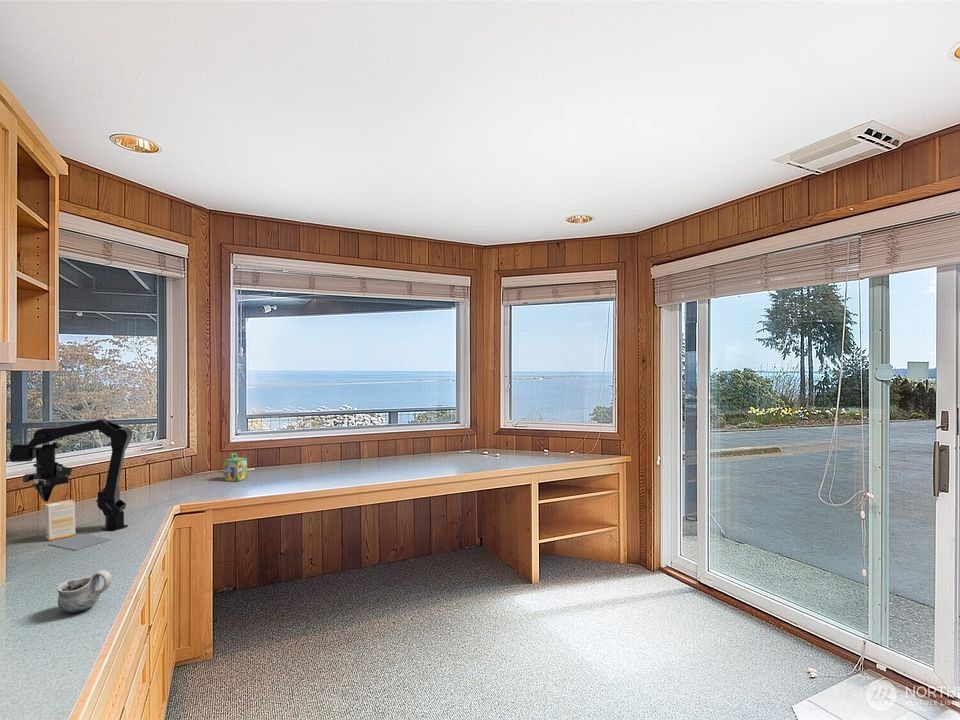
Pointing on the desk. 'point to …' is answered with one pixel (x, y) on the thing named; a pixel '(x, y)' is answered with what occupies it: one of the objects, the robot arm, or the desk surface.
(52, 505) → the supplement box
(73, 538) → the mat
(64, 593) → the mug
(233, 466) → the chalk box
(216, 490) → the desk surface
